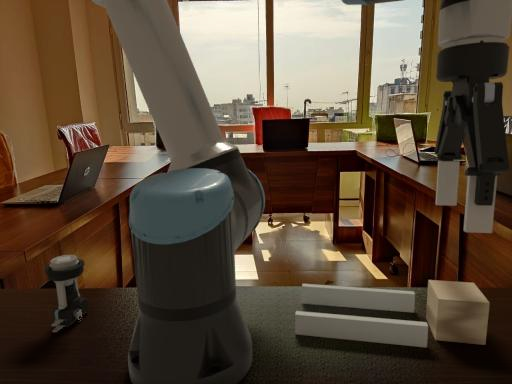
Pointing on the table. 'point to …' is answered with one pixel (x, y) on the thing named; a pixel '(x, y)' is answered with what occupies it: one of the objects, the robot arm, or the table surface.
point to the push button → (67, 289)
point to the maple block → (457, 312)
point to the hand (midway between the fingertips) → (459, 216)
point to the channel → (356, 325)
